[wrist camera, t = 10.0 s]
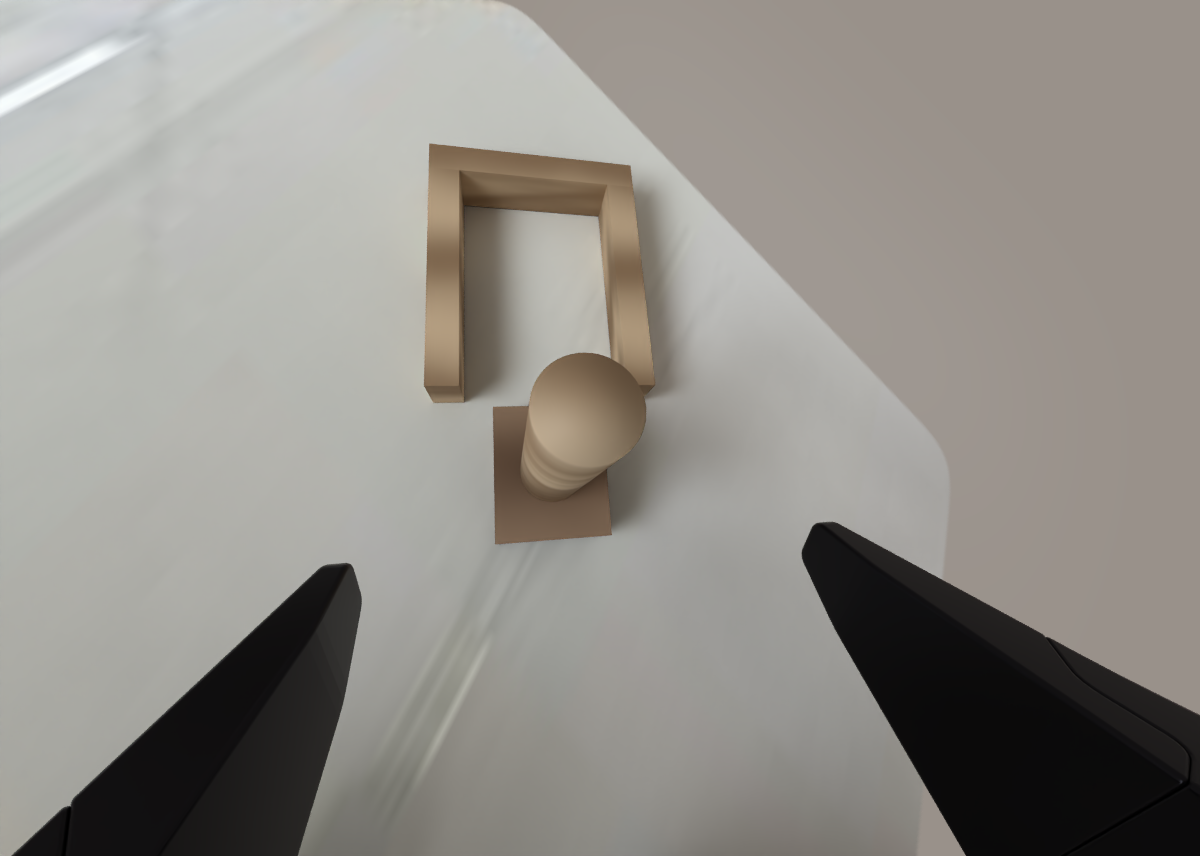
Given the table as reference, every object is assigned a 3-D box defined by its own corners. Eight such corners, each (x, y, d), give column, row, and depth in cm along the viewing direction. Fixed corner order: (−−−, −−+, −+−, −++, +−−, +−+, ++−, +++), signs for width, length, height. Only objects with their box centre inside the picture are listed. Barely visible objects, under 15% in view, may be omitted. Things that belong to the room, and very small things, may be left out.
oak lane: (640, 400, 24) (655, 384, 22) (433, 402, 22) (423, 385, 19) (619, 198, 27) (630, 165, 25) (437, 181, 25) (429, 143, 23)
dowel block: (598, 536, 22) (704, 530, 10) (497, 543, 21) (481, 548, 9) (590, 422, 23) (673, 298, 11) (495, 423, 22) (478, 289, 10)
